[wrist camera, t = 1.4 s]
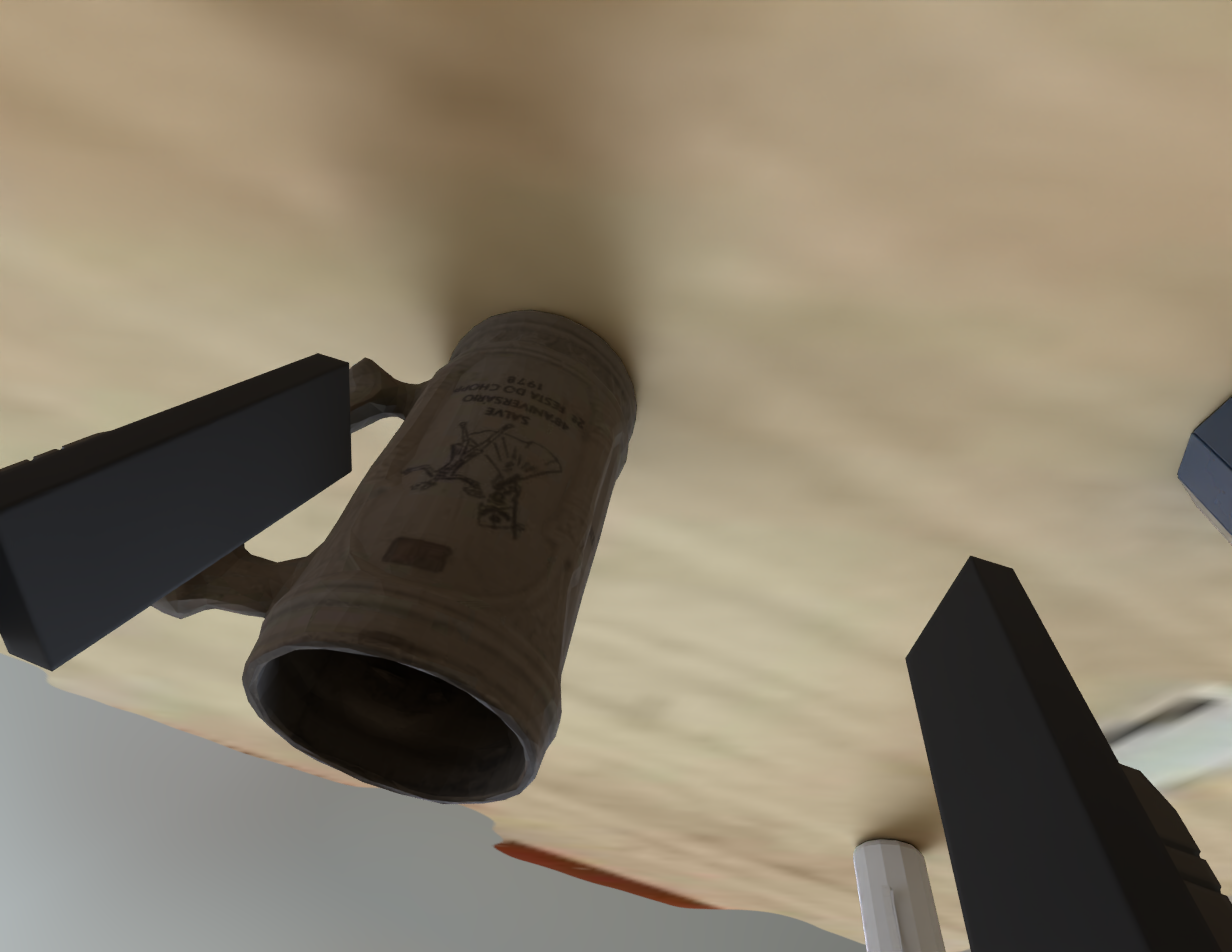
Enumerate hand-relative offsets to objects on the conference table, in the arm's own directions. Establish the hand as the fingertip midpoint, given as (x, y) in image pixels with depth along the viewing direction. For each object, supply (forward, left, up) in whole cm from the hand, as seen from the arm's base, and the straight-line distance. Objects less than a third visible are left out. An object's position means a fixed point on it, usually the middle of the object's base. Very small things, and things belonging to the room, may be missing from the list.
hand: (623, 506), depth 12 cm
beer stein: (+11, -7, -19) cm, 23 cm away
